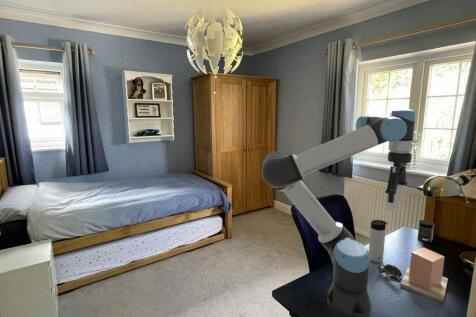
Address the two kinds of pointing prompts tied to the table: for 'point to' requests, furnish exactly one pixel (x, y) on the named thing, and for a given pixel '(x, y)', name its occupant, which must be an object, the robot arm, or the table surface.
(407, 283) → the birch pad
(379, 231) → the travel mug
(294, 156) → the robot arm
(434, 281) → the peach squarish block
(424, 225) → the supplement container
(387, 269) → the eagle figurine
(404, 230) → the table surface
